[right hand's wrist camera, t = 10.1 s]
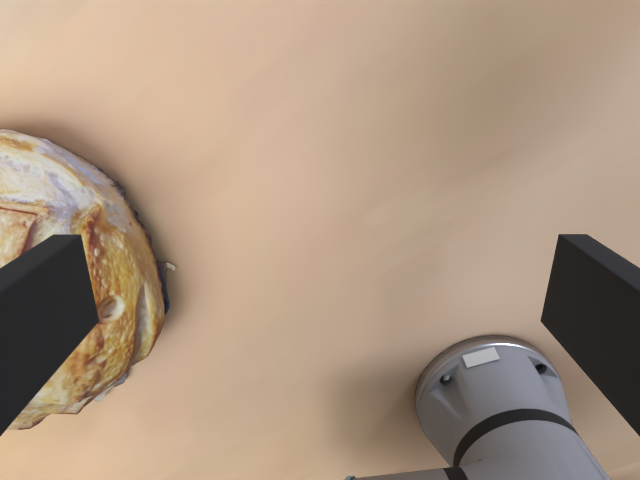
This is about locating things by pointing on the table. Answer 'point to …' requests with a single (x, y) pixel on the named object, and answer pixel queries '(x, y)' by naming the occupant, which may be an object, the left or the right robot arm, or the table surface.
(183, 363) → the table surface
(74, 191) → the bread
